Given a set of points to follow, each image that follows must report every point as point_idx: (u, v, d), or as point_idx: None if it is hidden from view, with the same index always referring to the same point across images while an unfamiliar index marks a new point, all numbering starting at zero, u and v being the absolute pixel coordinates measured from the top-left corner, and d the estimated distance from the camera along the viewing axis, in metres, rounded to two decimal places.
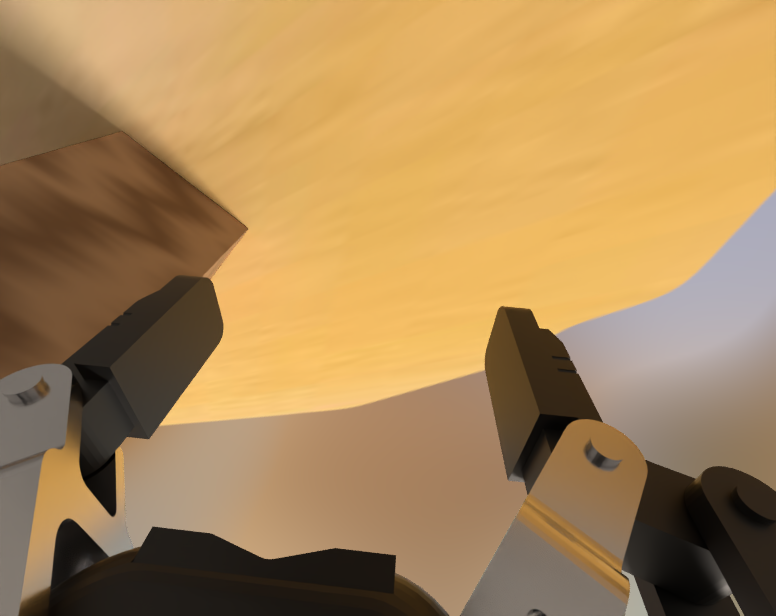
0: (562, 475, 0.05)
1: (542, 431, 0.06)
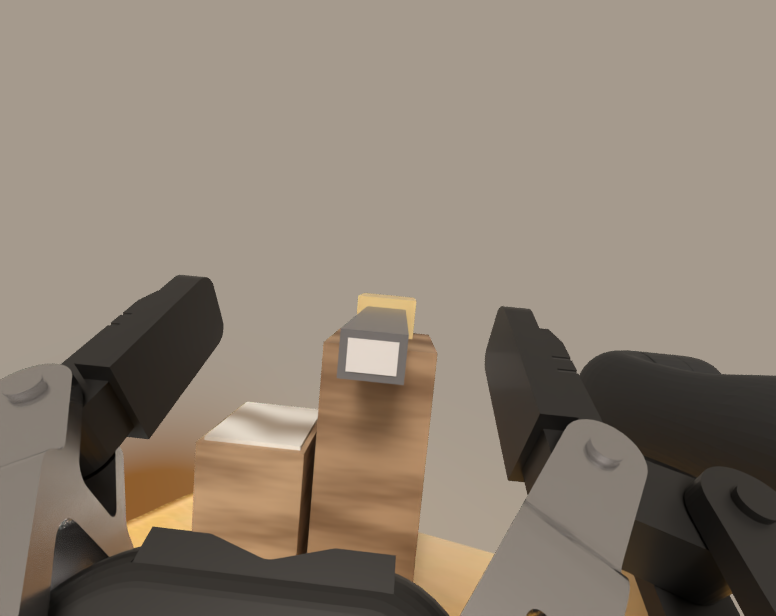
0: (562, 475, 0.05)
1: (542, 431, 0.06)
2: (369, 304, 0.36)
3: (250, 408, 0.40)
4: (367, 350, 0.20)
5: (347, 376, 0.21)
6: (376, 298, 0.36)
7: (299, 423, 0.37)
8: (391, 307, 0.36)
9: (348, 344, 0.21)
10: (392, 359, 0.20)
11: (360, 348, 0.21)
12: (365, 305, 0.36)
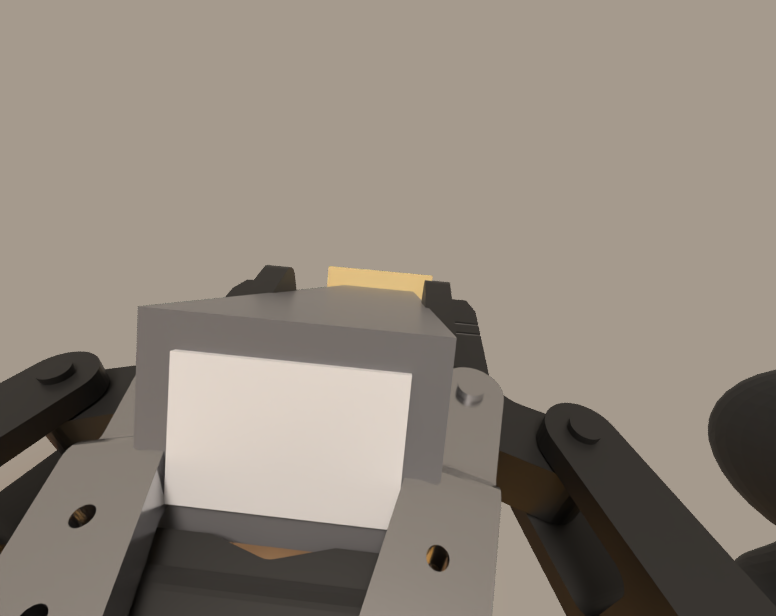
0: None
1: None
2: (348, 282, 0.20)
3: None
4: (260, 410, 0.04)
5: (180, 524, 0.05)
6: (361, 271, 0.20)
7: None
8: (387, 287, 0.20)
9: (177, 379, 0.05)
10: (381, 456, 0.04)
11: (230, 400, 0.04)
12: (341, 283, 0.20)
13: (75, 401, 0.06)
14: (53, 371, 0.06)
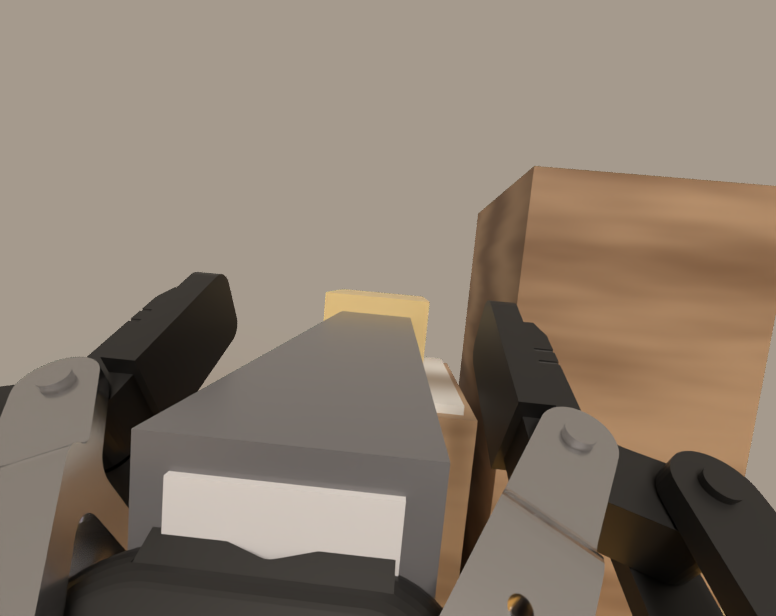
0: (536, 458, 0.05)
1: (521, 419, 0.07)
2: (345, 308, 0.20)
3: None
4: (253, 534, 0.04)
5: None
6: (358, 297, 0.20)
7: None
8: (385, 313, 0.20)
9: (171, 498, 0.05)
10: None
11: (224, 520, 0.04)
12: (338, 309, 0.20)
13: None
14: None
